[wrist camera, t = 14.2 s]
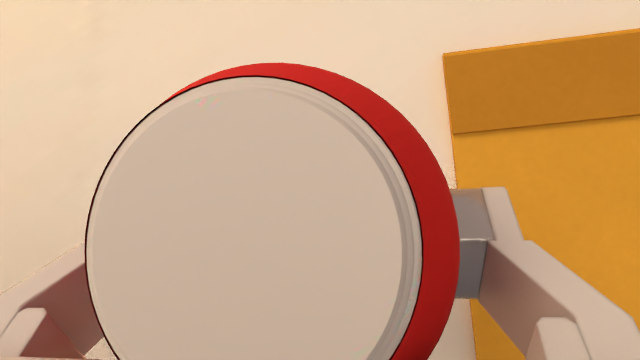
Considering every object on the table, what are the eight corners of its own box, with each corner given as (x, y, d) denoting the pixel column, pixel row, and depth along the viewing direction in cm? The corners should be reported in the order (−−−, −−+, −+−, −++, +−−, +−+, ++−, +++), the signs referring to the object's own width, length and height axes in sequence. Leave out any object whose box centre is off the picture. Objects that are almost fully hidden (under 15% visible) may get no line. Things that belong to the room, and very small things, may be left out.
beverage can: (315, 344, 18) (160, 589, 6) (235, 207, 19) (-36, 176, 7) (452, 260, 17) (591, 337, 5) (362, 125, 18) (310, -64, 6)
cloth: (481, 402, 24) (484, 408, 23) (442, 55, 26) (443, 51, 25) (780, 395, 22) (793, 400, 21) (712, 21, 24) (721, 15, 23)
